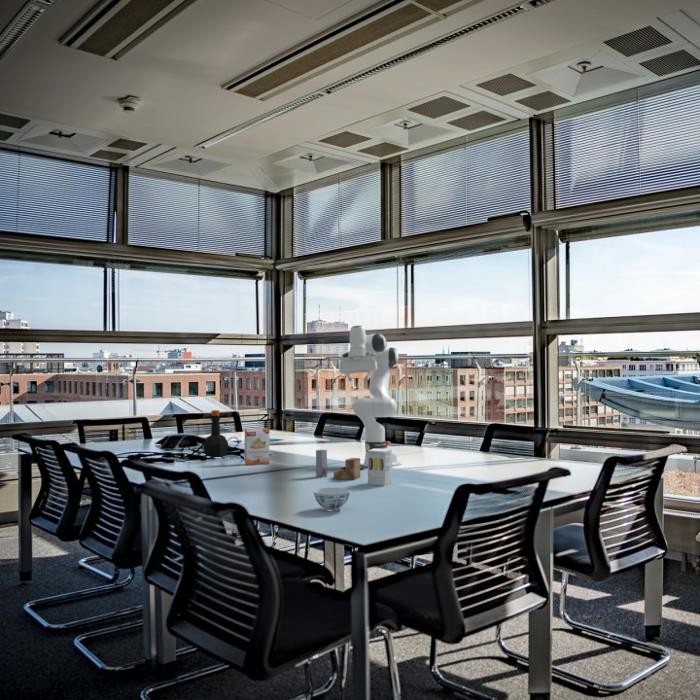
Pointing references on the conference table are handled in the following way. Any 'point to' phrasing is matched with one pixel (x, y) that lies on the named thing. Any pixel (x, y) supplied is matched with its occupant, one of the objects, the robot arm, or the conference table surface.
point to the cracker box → (256, 446)
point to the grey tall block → (321, 463)
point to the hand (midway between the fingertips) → (358, 380)
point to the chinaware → (331, 497)
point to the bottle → (215, 439)
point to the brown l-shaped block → (349, 470)
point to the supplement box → (379, 466)
